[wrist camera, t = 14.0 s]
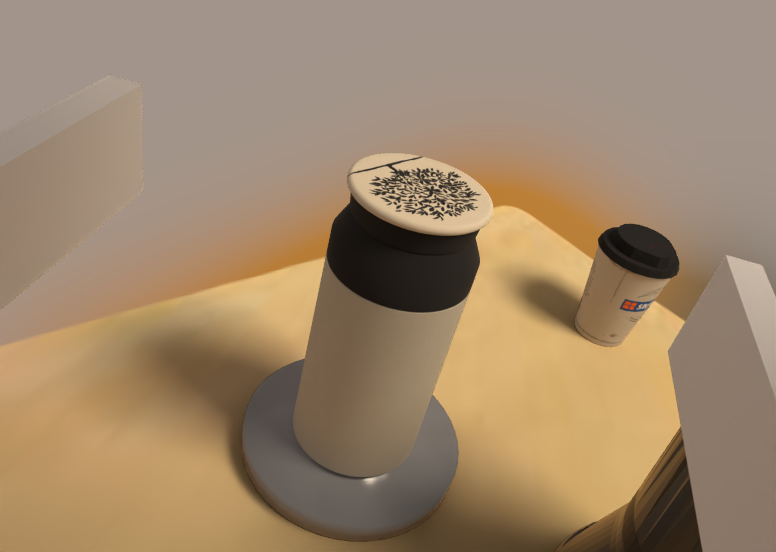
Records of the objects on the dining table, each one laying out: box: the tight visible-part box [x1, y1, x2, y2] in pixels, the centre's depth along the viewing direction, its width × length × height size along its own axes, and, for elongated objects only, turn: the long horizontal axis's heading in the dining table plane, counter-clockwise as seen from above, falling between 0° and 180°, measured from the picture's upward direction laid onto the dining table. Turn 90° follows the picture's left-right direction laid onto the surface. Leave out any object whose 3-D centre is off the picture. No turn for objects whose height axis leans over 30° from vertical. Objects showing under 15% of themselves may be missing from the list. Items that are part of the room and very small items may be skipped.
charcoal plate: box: [241, 359, 458, 541], centre depth 44 cm, size 14×14×2 cm
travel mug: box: [293, 153, 493, 477], centre depth 39 cm, size 8×8×18 cm
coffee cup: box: [575, 224, 679, 347], centre depth 59 cm, size 7×7×10 cm
